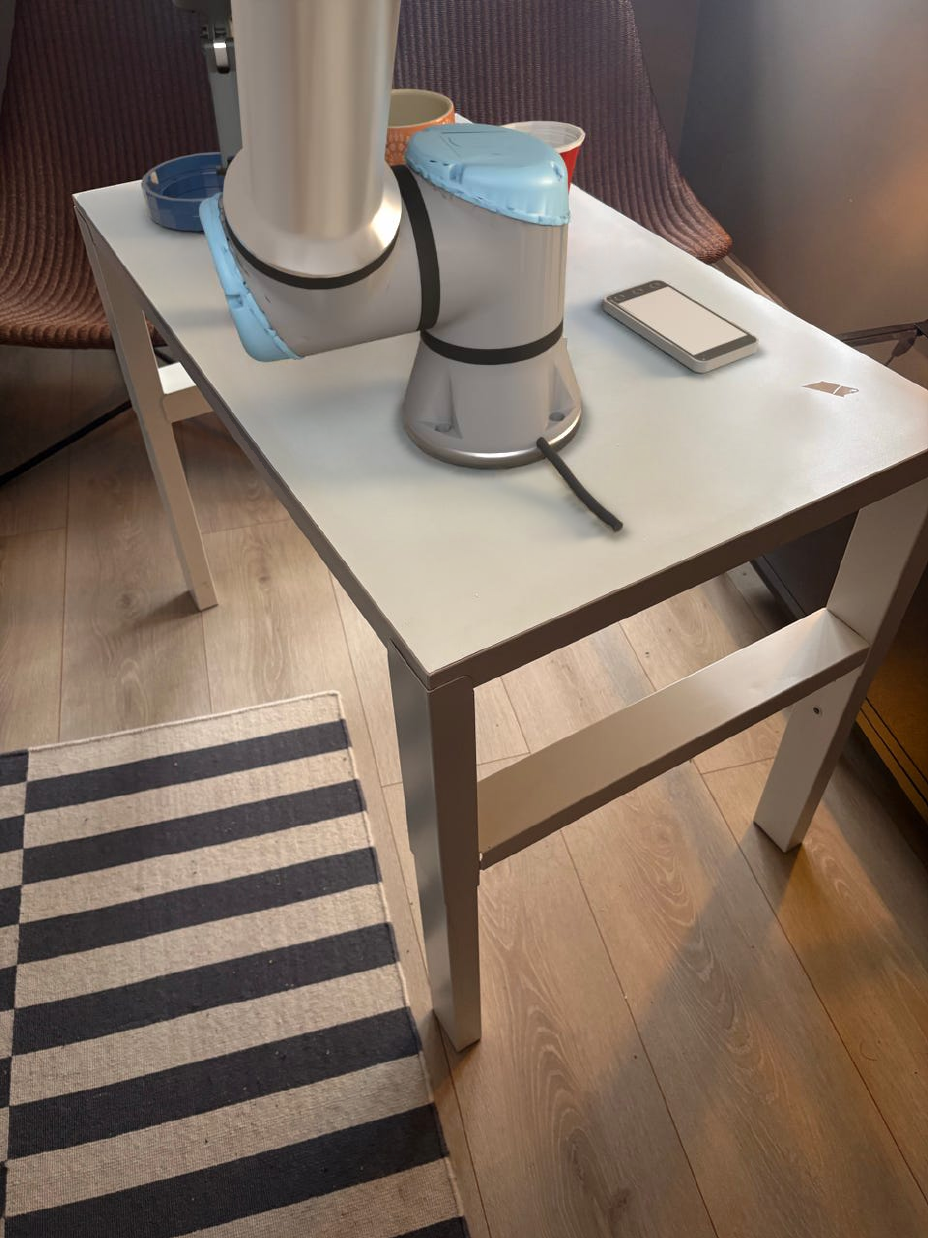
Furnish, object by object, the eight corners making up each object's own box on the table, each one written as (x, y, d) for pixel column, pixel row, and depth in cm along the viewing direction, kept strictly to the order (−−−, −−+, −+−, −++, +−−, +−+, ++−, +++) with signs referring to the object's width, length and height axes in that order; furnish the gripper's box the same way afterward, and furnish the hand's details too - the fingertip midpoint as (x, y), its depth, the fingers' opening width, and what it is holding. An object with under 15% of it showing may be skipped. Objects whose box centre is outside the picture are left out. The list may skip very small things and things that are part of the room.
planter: (339, 224, 116) (327, 124, 109) (370, 181, 125) (361, 85, 117) (444, 231, 114) (439, 130, 106) (467, 187, 123) (465, 90, 115)
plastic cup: (557, 218, 116) (561, 106, 107) (595, 257, 108) (602, 141, 100) (467, 234, 114) (464, 121, 105) (500, 275, 106) (499, 158, 98)
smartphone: (659, 277, 102) (762, 340, 93) (658, 287, 103) (760, 350, 94) (600, 297, 100) (700, 364, 90) (599, 307, 100) (699, 374, 91)
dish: (269, 229, 116) (263, 195, 113) (144, 240, 115) (135, 205, 112) (271, 180, 126) (265, 147, 123) (156, 190, 125) (147, 156, 122)
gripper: (254, -15, 71) (298, 270, 86) (260, -92, 89) (296, 156, 104) (146, -7, 71) (209, 277, 86) (174, -87, 88) (222, 162, 103)
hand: (257, 211), depth 95 cm, fingers open, 13 cm apart
